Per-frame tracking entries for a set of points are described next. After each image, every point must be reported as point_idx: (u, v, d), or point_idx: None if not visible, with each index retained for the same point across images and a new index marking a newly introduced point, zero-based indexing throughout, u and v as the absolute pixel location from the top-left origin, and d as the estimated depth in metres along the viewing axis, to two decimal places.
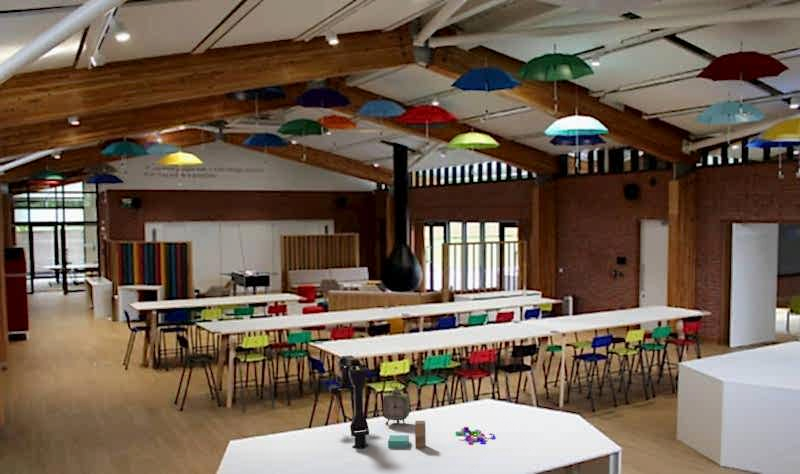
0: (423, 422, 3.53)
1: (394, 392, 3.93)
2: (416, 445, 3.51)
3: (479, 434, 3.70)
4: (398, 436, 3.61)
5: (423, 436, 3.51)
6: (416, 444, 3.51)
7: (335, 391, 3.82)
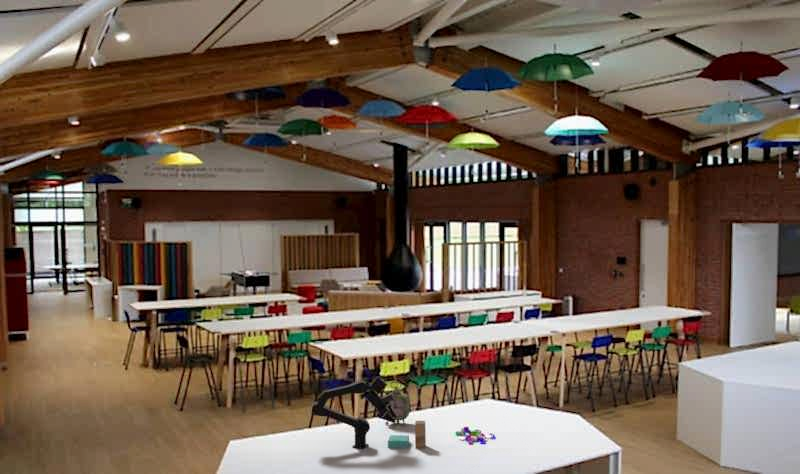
0: (423, 422, 3.53)
1: (394, 392, 3.93)
2: (416, 445, 3.51)
3: (479, 434, 3.70)
4: (398, 436, 3.61)
5: (423, 436, 3.51)
6: (416, 444, 3.51)
7: None
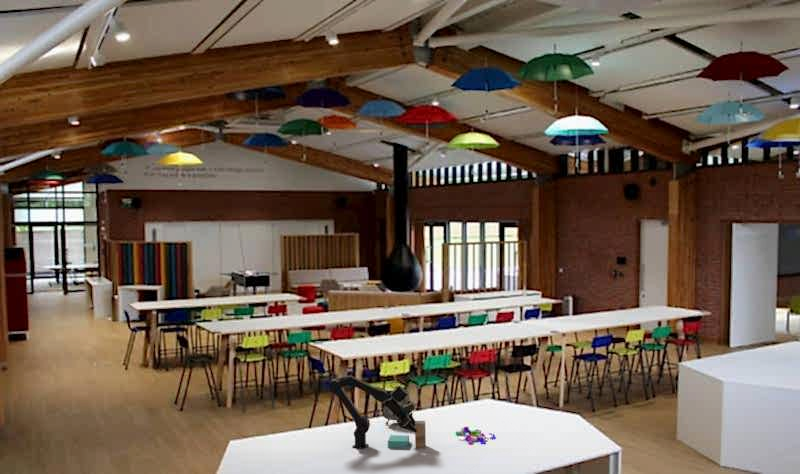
0: (423, 422, 3.53)
1: None
2: (416, 445, 3.51)
3: (479, 434, 3.70)
4: (398, 436, 3.61)
5: (423, 436, 3.51)
6: (416, 444, 3.51)
7: None
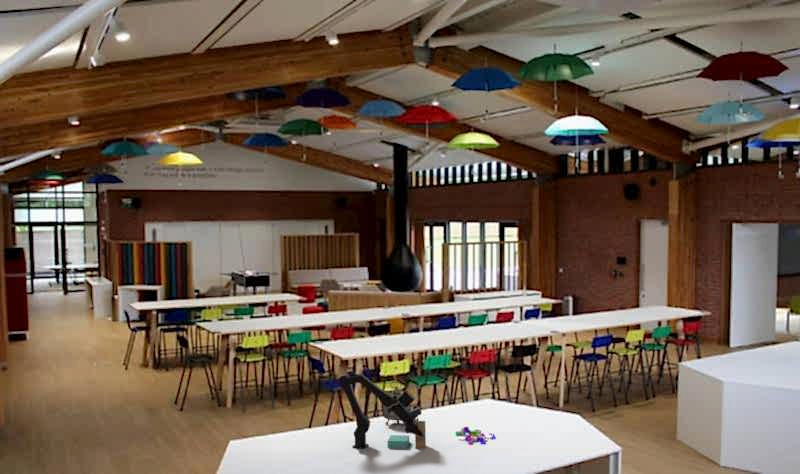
0: (423, 422, 3.53)
1: (394, 392, 3.93)
2: (416, 445, 3.51)
3: (479, 434, 3.70)
4: (398, 436, 3.61)
5: (424, 436, 3.51)
6: (416, 444, 3.51)
7: None
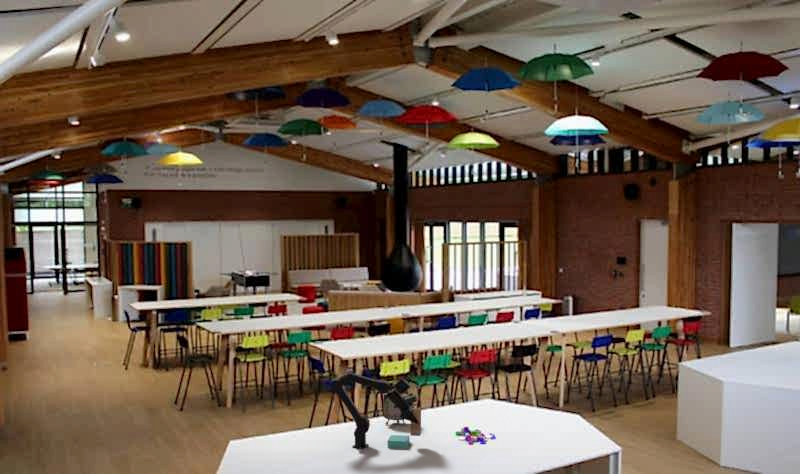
0: (419, 409, 3.53)
1: None
2: (411, 432, 3.52)
3: (479, 434, 3.70)
4: (398, 436, 3.61)
5: (419, 423, 3.51)
6: (411, 431, 3.52)
7: None
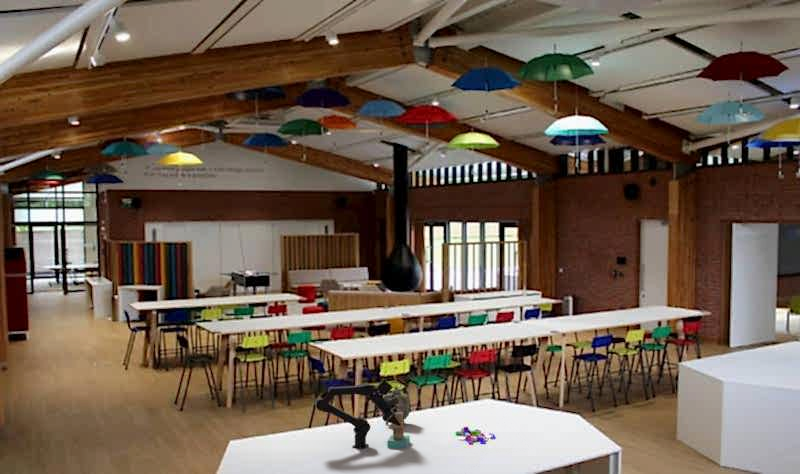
0: (400, 413, 3.57)
1: (394, 392, 3.93)
2: (394, 436, 3.55)
3: (479, 434, 3.70)
4: None
5: (401, 427, 3.55)
6: (394, 435, 3.55)
7: None
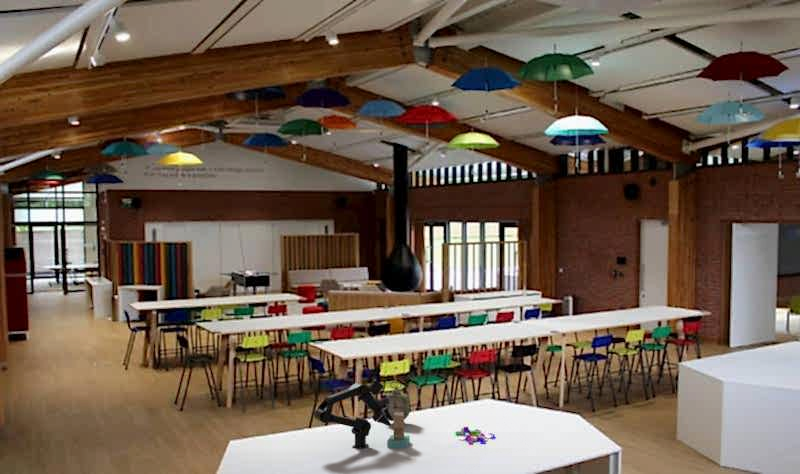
0: (401, 414, 3.56)
1: (394, 392, 3.93)
2: (394, 436, 3.55)
3: (479, 434, 3.70)
4: None
5: (402, 427, 3.54)
6: (394, 435, 3.55)
7: None
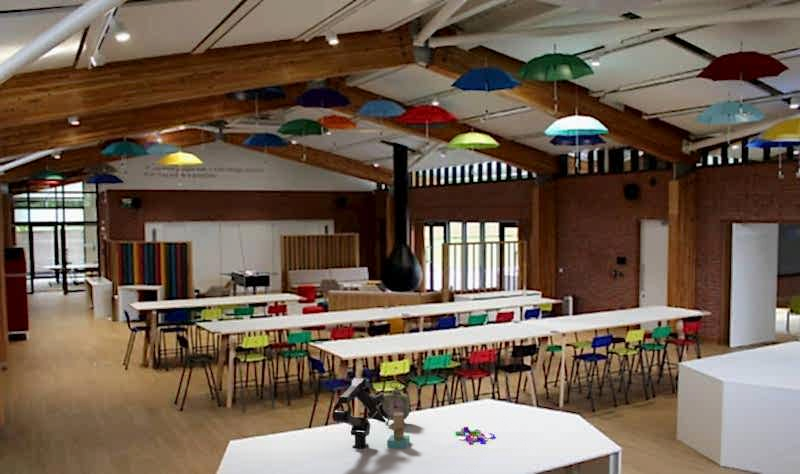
0: (401, 414, 3.56)
1: (394, 392, 3.93)
2: (395, 436, 3.54)
3: (479, 434, 3.70)
4: None
5: (402, 427, 3.54)
6: (395, 436, 3.54)
7: None
